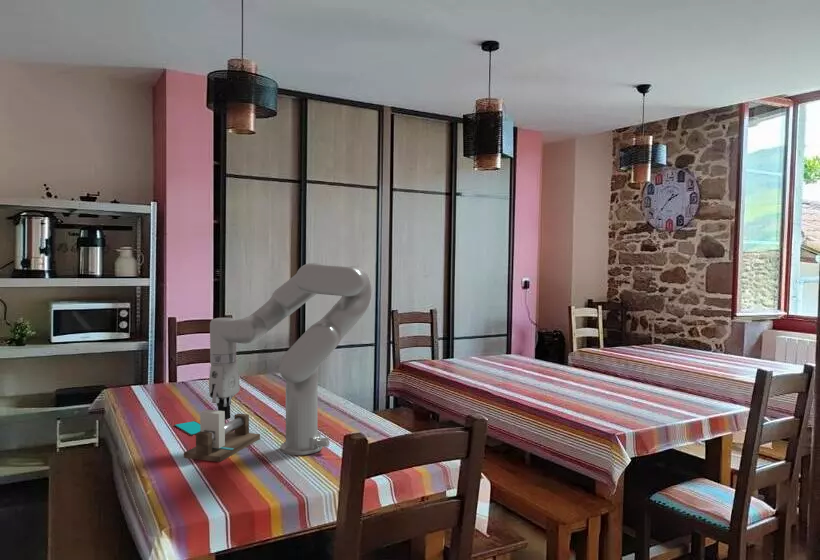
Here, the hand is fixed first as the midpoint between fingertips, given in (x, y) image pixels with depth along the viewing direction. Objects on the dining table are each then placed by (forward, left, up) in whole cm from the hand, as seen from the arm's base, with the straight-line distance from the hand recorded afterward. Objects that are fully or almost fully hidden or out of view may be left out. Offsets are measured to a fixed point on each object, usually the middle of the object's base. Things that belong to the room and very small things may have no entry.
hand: (224, 418), depth 179 cm
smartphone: (+21, -14, -10) cm, 27 cm away
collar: (0, +6, -7) cm, 9 cm away
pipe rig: (0, 0, -9) cm, 9 cm away
